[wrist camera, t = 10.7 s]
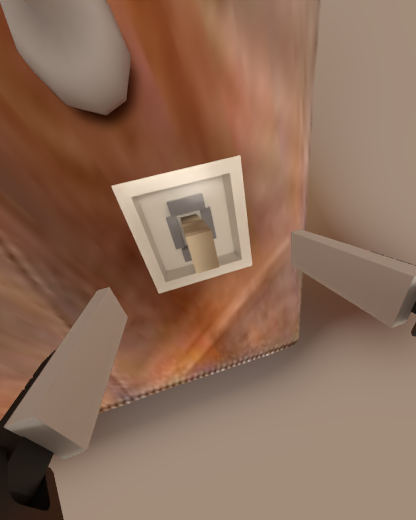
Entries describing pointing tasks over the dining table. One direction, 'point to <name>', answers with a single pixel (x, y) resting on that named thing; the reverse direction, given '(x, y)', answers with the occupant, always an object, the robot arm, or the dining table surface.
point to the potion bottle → (73, 50)
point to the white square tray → (183, 204)
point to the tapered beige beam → (200, 243)
